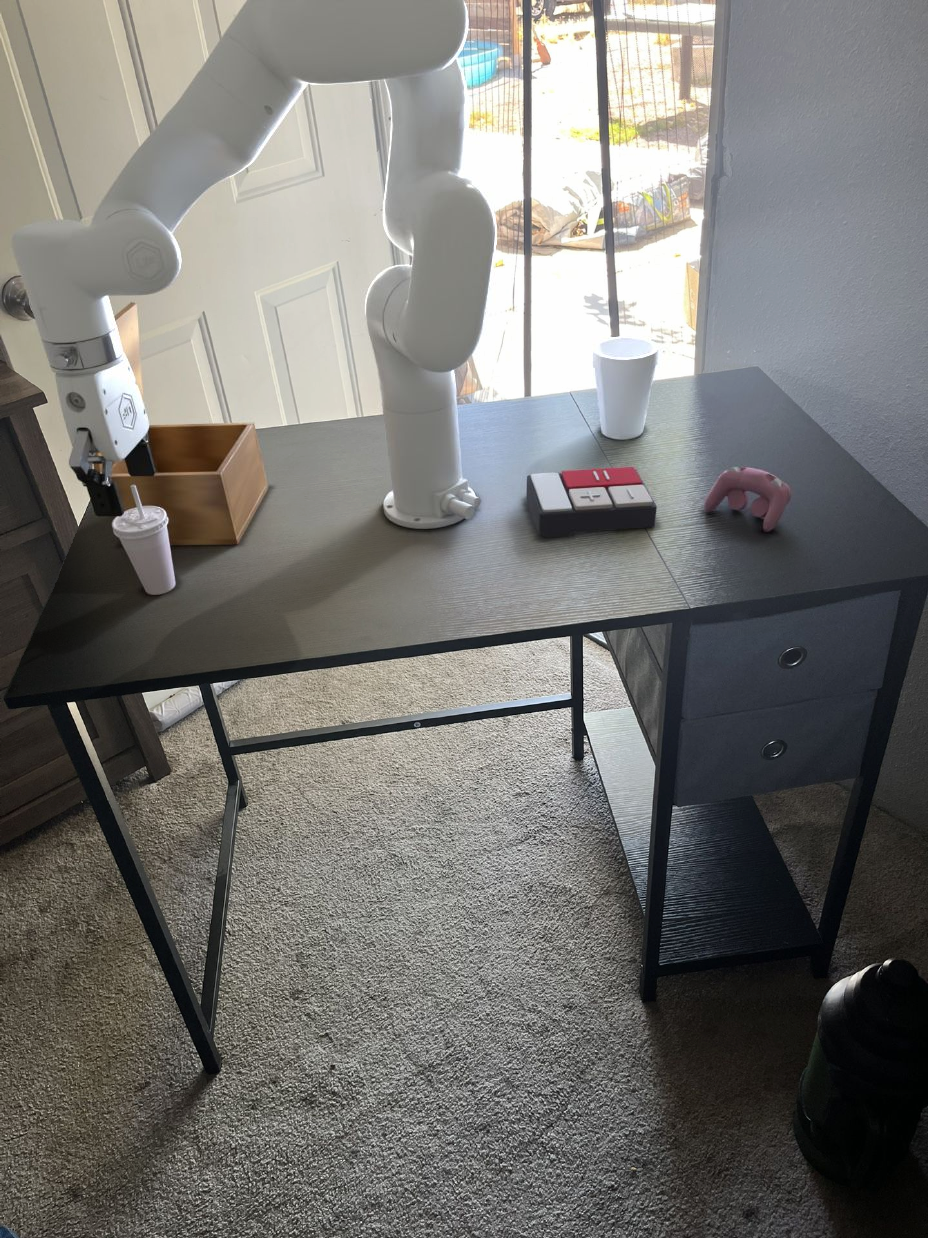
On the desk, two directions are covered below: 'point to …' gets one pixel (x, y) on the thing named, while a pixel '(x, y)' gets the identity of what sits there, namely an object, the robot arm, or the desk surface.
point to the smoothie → (147, 545)
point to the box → (200, 481)
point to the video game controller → (755, 481)
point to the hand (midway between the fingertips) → (127, 494)
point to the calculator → (589, 501)
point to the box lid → (129, 347)
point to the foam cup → (624, 383)
